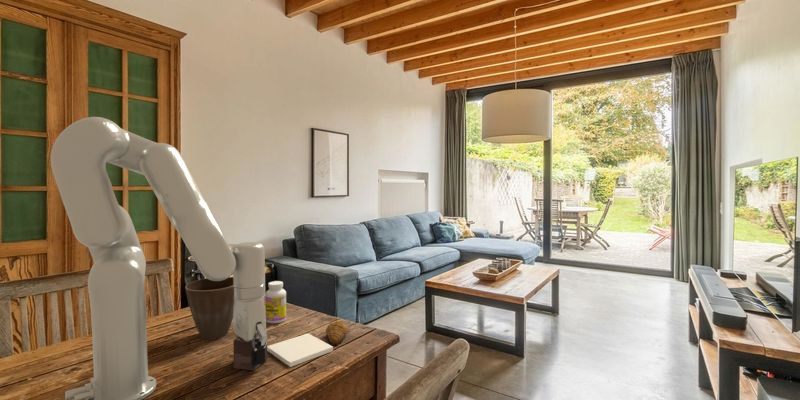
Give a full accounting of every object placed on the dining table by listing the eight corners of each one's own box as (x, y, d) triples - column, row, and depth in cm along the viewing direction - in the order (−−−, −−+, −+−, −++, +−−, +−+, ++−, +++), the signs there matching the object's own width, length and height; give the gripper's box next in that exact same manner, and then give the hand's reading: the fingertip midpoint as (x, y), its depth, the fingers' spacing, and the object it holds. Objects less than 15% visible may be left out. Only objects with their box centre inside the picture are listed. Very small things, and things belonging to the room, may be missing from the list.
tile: (290, 367, 96) (290, 362, 96) (266, 350, 105) (266, 346, 105) (333, 351, 105) (333, 346, 105) (308, 337, 114) (308, 333, 114)
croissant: (328, 328, 122) (328, 313, 121) (349, 328, 122) (349, 313, 122) (322, 347, 108) (322, 330, 108) (346, 346, 109) (346, 329, 108)
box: (254, 371, 94) (254, 342, 94) (233, 368, 95) (232, 340, 95) (268, 359, 100) (267, 332, 100) (247, 357, 101) (246, 330, 101)
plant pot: (242, 339, 112) (241, 286, 112) (184, 349, 106) (183, 292, 105) (239, 322, 126) (238, 274, 125) (188, 330, 120) (187, 279, 119)
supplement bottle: (261, 322, 126) (260, 284, 125) (273, 316, 132) (273, 279, 131) (278, 325, 124) (278, 286, 123) (290, 318, 130) (289, 281, 129)
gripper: (221, 287, 100) (223, 352, 101) (249, 302, 88) (250, 376, 89) (249, 282, 105) (250, 343, 106) (279, 295, 93) (280, 365, 94)
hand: (250, 358), depth 97 cm, fingers closed on box, 8 cm apart
